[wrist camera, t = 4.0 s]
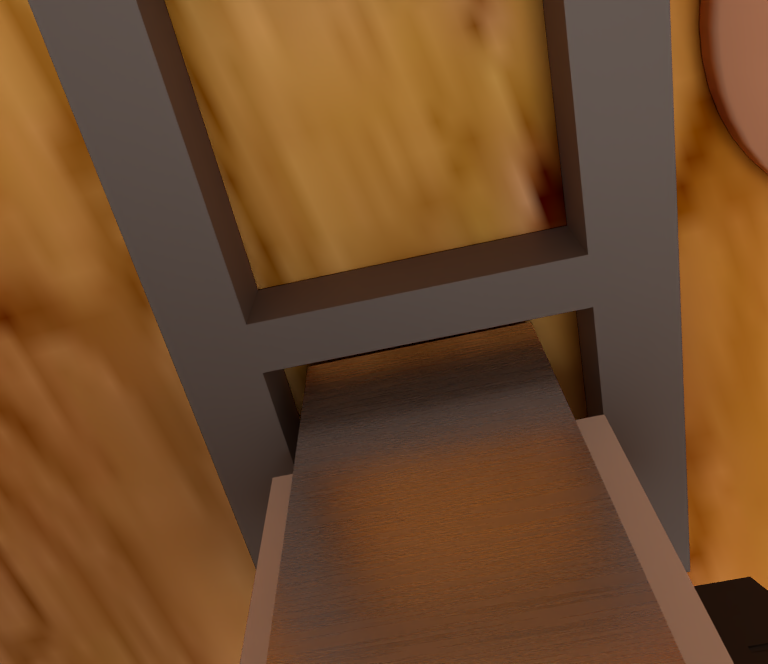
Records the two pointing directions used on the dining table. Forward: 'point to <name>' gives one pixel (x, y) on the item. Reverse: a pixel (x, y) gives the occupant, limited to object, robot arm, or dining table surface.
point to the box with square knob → (455, 519)
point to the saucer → (738, 69)
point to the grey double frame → (405, 277)
